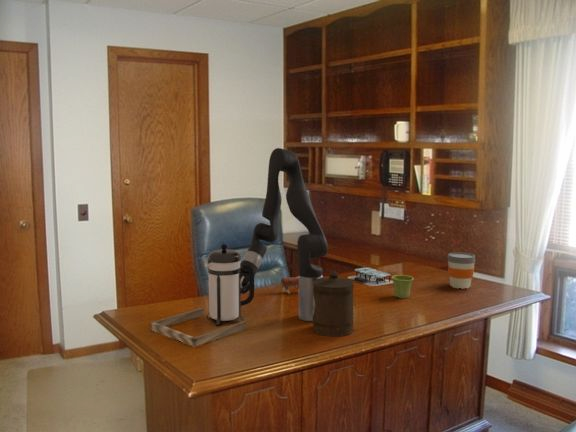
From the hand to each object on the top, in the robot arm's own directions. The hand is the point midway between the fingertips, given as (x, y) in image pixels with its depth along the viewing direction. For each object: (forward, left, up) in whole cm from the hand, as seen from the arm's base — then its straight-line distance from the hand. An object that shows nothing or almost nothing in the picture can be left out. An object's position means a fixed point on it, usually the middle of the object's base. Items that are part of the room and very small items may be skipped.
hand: (231, 300), depth 229 cm
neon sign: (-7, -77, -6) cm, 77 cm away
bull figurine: (+3, -41, -6) cm, 42 cm away
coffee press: (-3, +5, -6) cm, 8 cm away
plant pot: (-36, -68, -6) cm, 78 cm away
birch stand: (-4, +20, -6) cm, 21 cm away
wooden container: (-40, -13, -6) cm, 43 cm away
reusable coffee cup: (-47, -102, -6) cm, 113 cm away
